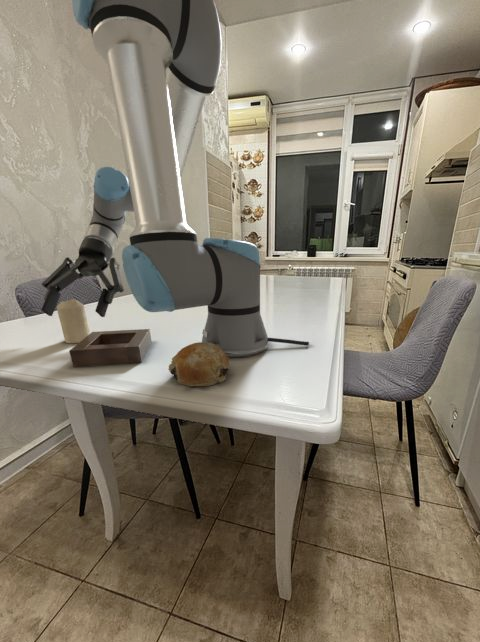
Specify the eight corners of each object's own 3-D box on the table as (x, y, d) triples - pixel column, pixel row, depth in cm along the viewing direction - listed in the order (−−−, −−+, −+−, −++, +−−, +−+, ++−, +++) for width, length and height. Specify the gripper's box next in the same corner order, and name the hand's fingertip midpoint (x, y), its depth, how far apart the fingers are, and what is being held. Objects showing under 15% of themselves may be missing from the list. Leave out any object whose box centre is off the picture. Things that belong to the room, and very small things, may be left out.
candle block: (151, 342, 70) (149, 328, 69) (141, 362, 59) (138, 346, 57) (95, 346, 68) (92, 331, 67) (73, 367, 56) (68, 350, 55)
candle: (76, 336, 75) (67, 297, 72) (95, 337, 74) (87, 298, 71) (59, 343, 70) (49, 301, 66) (80, 344, 69) (70, 302, 66)
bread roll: (208, 409, 49) (225, 372, 46) (154, 381, 49) (168, 341, 46) (226, 383, 58) (242, 350, 55) (181, 359, 58) (194, 325, 55)
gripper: (148, 256, 81) (129, 322, 73) (64, 256, 83) (36, 320, 75) (136, 236, 75) (114, 305, 66) (44, 236, 76) (11, 304, 68)
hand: (73, 313), depth 70 cm, fingers open, 13 cm apart
